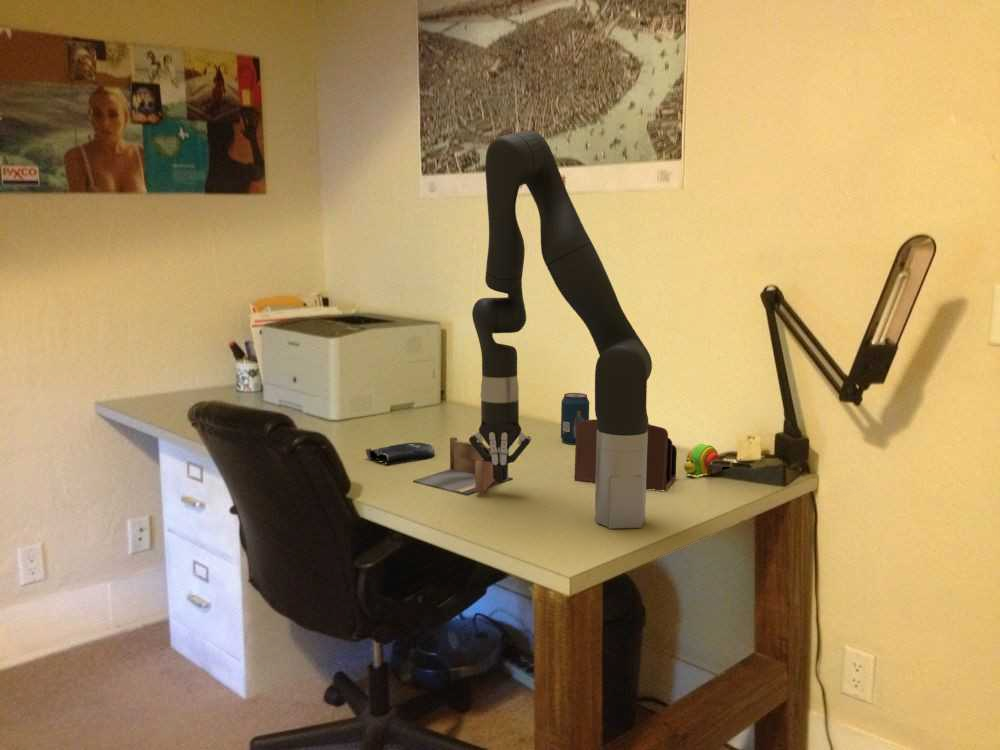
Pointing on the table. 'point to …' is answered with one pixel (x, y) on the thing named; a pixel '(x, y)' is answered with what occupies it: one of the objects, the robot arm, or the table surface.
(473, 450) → the grey and brown panels
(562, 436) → the soda can
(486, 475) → the swing panel
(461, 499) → the table surface
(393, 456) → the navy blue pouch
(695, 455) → the toy measuring tape
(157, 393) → the table surface
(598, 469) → the robot arm
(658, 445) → the letter holder
